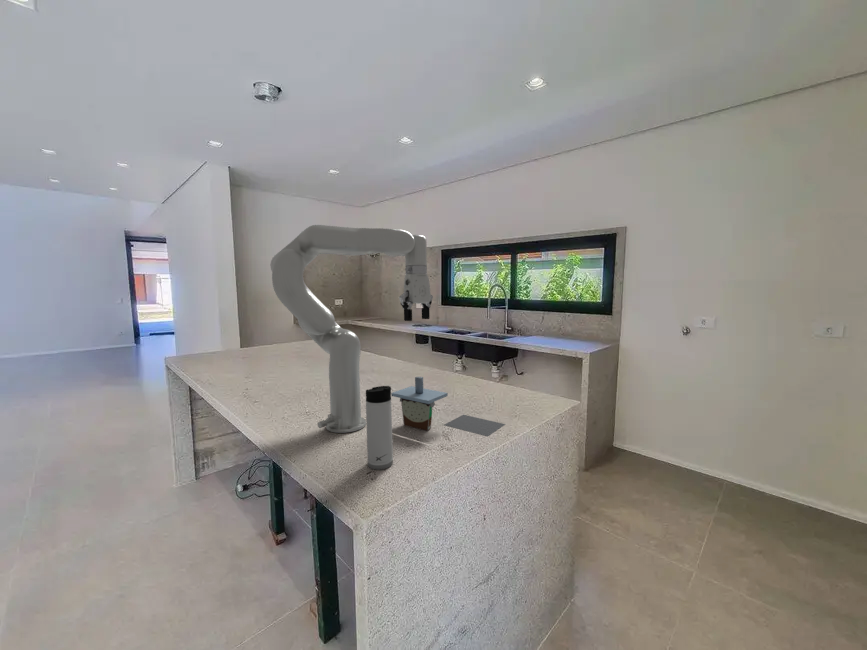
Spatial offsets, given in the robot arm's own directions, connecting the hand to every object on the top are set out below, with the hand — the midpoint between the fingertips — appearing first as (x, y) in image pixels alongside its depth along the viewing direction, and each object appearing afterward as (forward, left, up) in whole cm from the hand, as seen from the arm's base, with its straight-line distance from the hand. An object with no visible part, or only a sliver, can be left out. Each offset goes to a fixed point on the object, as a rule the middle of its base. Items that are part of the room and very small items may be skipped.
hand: (417, 319), depth 127 cm
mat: (-1, -24, -33) cm, 41 cm away
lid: (-11, -10, -23) cm, 28 cm away
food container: (-11, -10, -34) cm, 37 cm away
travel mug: (-37, -18, -34) cm, 53 cm away
